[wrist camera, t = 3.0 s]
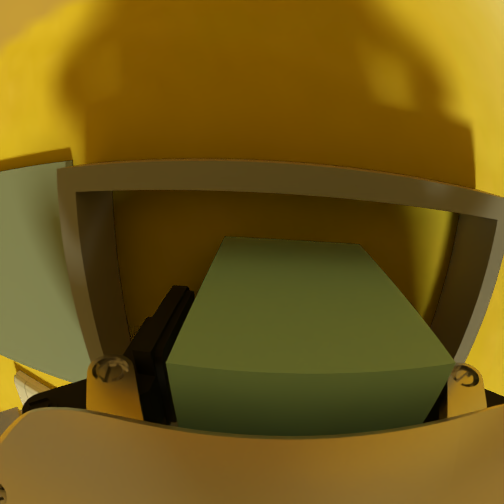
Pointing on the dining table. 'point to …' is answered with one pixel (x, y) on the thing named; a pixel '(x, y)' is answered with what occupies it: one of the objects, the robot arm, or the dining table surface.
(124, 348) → the case
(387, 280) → the block
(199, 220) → the dining table surface
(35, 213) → the mat
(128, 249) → the dining table surface
